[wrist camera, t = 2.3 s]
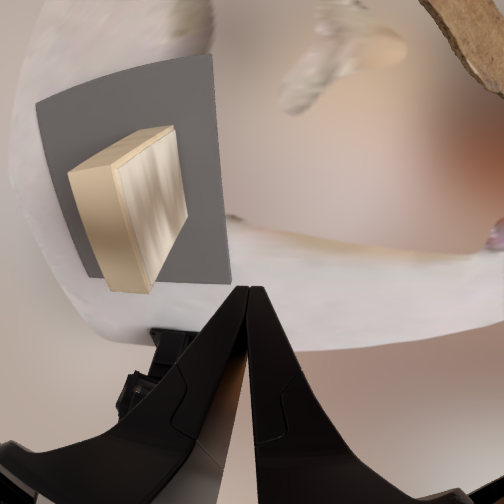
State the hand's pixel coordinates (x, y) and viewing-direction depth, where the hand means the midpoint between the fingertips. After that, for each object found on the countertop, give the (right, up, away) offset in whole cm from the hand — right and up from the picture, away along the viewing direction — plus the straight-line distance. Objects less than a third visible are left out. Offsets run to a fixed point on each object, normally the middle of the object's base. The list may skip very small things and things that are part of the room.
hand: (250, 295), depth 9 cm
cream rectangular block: (-6, +7, +10) cm, 13 cm away
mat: (-10, +6, +11) cm, 16 cm away
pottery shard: (+16, +18, +1) cm, 24 cm away
